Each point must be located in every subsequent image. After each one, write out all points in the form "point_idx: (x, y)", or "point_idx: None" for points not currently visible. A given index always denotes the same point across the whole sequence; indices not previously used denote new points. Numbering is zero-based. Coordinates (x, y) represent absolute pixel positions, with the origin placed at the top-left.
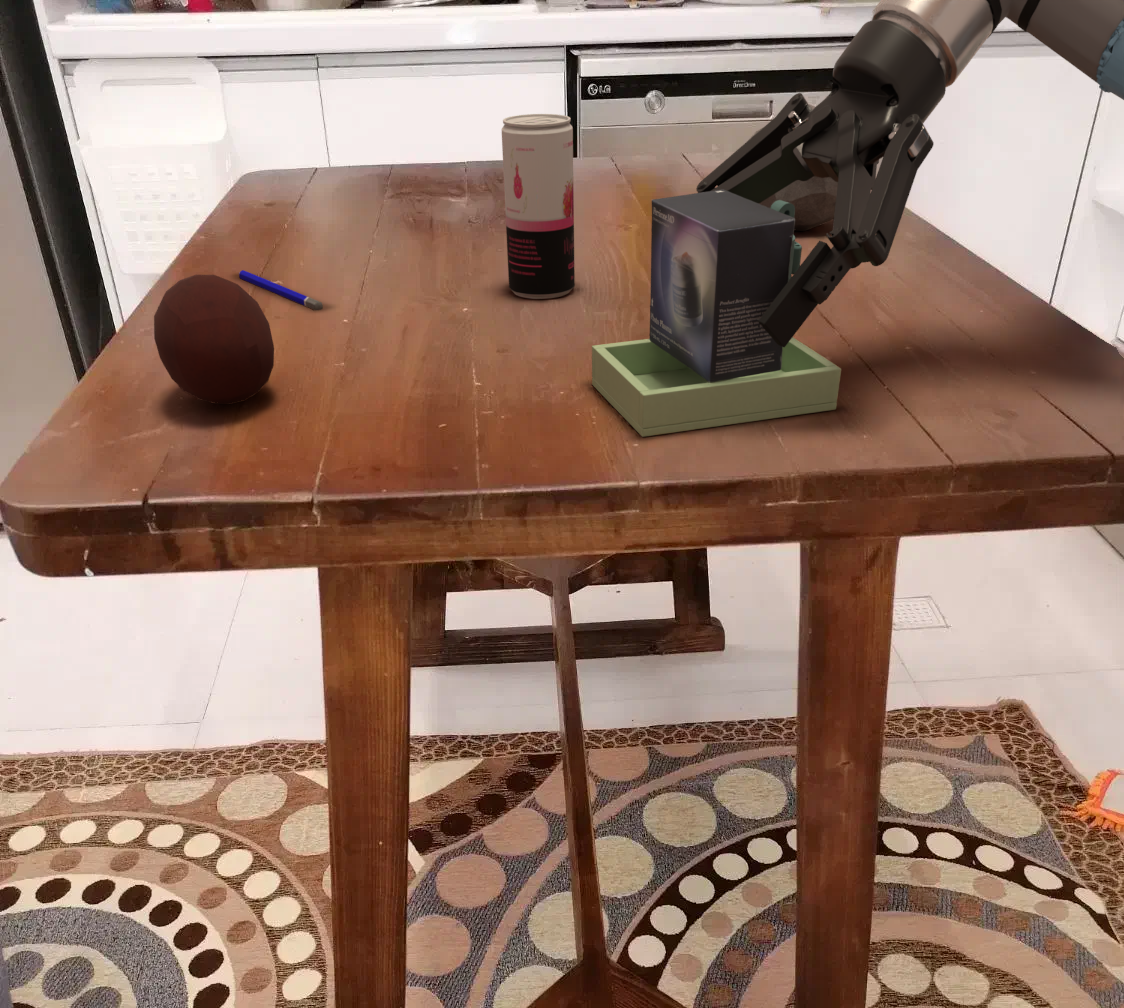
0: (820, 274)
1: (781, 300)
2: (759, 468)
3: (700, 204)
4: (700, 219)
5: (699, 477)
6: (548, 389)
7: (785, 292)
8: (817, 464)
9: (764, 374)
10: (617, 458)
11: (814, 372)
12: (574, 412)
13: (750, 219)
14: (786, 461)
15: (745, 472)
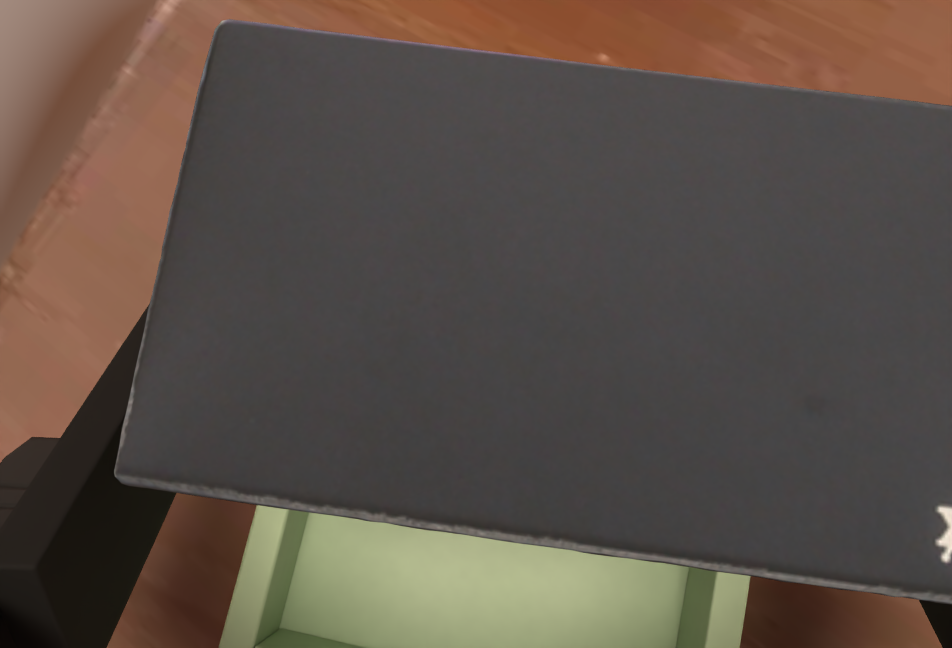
0: (6, 497)
1: (121, 351)
2: (84, 231)
3: (705, 224)
4: (444, 61)
5: (129, 94)
6: (801, 81)
7: (117, 371)
8: (16, 358)
9: (542, 617)
10: (321, 4)
11: (238, 573)
12: (620, 59)
13: (242, 243)
14: (74, 308)
15: (87, 192)
